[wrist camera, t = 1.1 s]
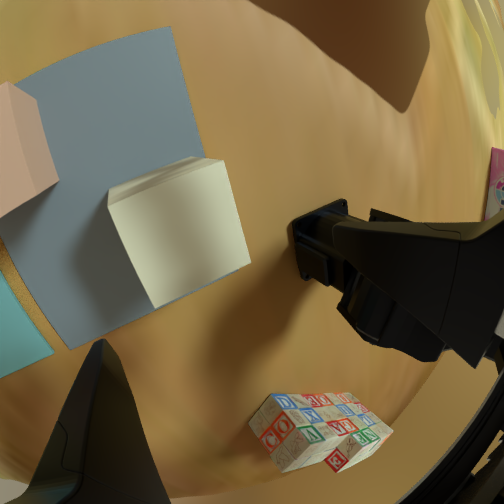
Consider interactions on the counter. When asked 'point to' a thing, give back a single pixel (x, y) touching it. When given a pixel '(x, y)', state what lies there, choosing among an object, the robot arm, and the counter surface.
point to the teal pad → (18, 334)
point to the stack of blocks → (317, 430)
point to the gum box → (496, 184)
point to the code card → (98, 178)
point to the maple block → (179, 226)
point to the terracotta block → (22, 150)
